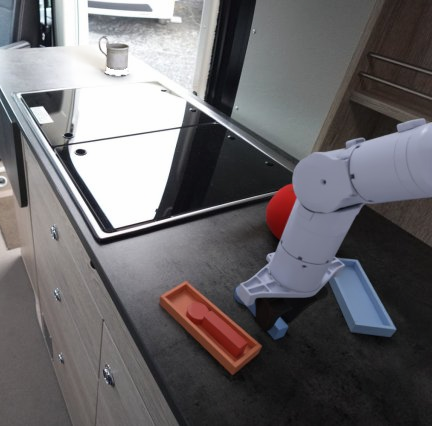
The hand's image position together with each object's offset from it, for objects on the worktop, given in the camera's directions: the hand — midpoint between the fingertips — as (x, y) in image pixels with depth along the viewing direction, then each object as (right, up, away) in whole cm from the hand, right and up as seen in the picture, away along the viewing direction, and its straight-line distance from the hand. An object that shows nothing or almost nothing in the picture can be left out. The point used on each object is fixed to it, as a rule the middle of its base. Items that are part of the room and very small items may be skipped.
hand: (272, 321), depth 51 cm
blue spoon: (-1, +1, +3) cm, 3 cm away
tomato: (+11, +10, +17) cm, 22 cm away
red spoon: (-8, -1, 0) cm, 8 cm away
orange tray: (-9, -1, +1) cm, 9 cm away
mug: (-22, +70, +95) cm, 120 cm away
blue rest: (+14, +2, +6) cm, 16 cm away
